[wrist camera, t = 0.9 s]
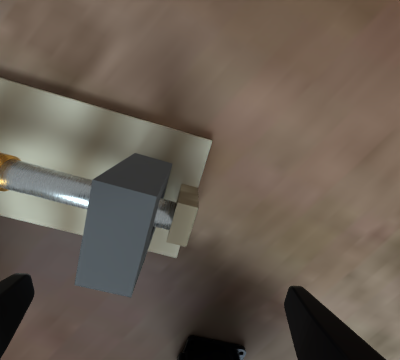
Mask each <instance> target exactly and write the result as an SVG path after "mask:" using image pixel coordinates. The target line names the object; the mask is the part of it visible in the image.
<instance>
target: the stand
mask: <svg viewBox="0 0 400 360" xmlns="http://www.w3.org/2000/svg"><path fill="white" fill-rule="evenodd" d="M211 144H212V140H210V139H206V138H203V137H200V136H196V135H193V134H190V133H186V132H183V131H180V130H176V129H173V128H169V127H166V126H163V125H159V124H156V123H153V122H149V121H146V120H143V119H139V118H136V117H133V116H129V115H126V114H122V113H119V112H116V111H112V110H109V109H106V108H102V107H99V106H96V105H92V104H89V103H85V102H82V101H79V100H75V99H72V98H69V97H65V96H62V95H59V94H55V93H52V92H48V91H45V90H42V89H38V88H35V87H32V86H28V85H25V84H22V83H18V82H15V81H11V80H8V79H5V78H1V77H0V152H1V153H5V154H8V155H12V156H16V157H18V158H19V159H20V160H21V161H23V162H27V163H30V164H34V165H38V166H42V167H45V168H49V169H53V170H57V171H60V172H64V173H68V174H72V175H75V176H79V177H83V178H87V179H91V180H93V179H94V178H96V177H97V176H99V175H101V174H102V173H104V172H105V171H107V170H109V169H110V168H112V167H113V166H115V165H116V164H118V163H120V162H121V161H123V160H124V159H126V158H128V157H129V156H131V155H132V154H134V153H137V154H141V155H144V156H148V157H151V158H155V159H158V160H162V161H165V162H169V163H173V164H172V168H171V172H170V176H169V179H168V183H167V187H166V191H165V194H164V198H163V199H166V200H170V201H173V202H177V205H176V209H175V213H174V217H173V220H172V224H171V227H170V230H166V229H162V228H158V227H156V228H155V231H154V234H153V237H152V240H151V243H150V245H149V248H148V251H150V252H154V253H158V254H162V255H166V256H171V257H175V258H177V254H178V251H179V248H180V246H184V247H186V246H187V243H188V240H189V236H190V233H191V230H192V227H193V224H194V221H195V217H196V214H197V211H198V186H199V183H200V179H201V176H202V173H203V170H204V166H205V163H206V160H207V157H208V153H209V150H210V147H211ZM86 214H87V209H83V208H79V207H75V206H71V205H67V204H63V203H59V202H55V201H51V200H47V199H43V198H39V197H35V196H31V195H27V194H23V193H19V192H15V191H11V190H8V191H0V215H1V216H5V217H9V218H13V219H17V220H21V221H26V222H30V223H34V224H38V225H42V226H46V227H50V228H55V229H59V230H63V231H67V232H71V233H75V234H79V235H83V232H84V226H85V220H86Z"/></svg>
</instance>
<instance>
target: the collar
mask: <svg viewBox="0 0 400 360" xmlns="http://www.w3.org/2000/svg"><path fill="white" fill-rule="evenodd" d="M172 164H173V163H169V162H165V161H162V160H158V159H155V158H151V157H148V156H144V155H141V154H137V153H134V154H132V155H131V156H129V157H128V158H126V159H124V160H123V161H121V162H120V163H118V164H116V165H115V166H113V167H112V168H110V169H109V170H107V171H105V172H104V173H102V174H101V175H99V176H97V177H96V178H94V179H93V180H92V185H91V191H90V197H89V203H88V209H87V214H86V220H85V226H84V232H83V238H82V244H81V250H80V256H79V262H78V268H77V274H76V280H75V285H77V286H81V287H86V288H90V289H95V290H100V291H104V292H109V293H113V294H118V295H122V296H127V297H131V296H132V293H133V290H134V288H135V285H136V282H137V279H138V276H139V274H140V271H141V268H142V265H143V262H144V260H145V257H146V254H147V251H148V248H149V245H150V243H151V240H152V237H153V234H154V231H155V228H156V227H154V226H153V224H154V220H155V217H156V213H157V209H158V205H159V201H160V199H161V198H162V199H163V198H164V194H165V191H166V187H167V183H168V179H169V176H170V172H171V168H172Z"/></svg>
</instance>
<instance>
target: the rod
mask: <svg viewBox="0 0 400 360" xmlns="http://www.w3.org/2000/svg"><path fill="white" fill-rule="evenodd" d="M91 185H92V180H91V179H87V178H83V177H79V176H75V175H72V174H68V173H64V172H60V171H57V170H53V169H49V168H45V167H42V166H38V165H34V164H30V163H27V162H23V161H21V160H20V159H19V158H18V157H16V156H12V155H8V154H5V153H1V152H0V191H8V190H11V191H15V192H19V193H23V194H27V195H31V196H35V197H39V198H43V199H47V200H51V201H55V202H59V203H63V204H67V205H71V206H75V207H79V208H83V209H88V203H89V197H90V191H91ZM176 205H177V202H173V201H170V200H166V199H162V198H161V199H160V201H159V205H158V209H157V213H156V217H155V220H154V224H153V226H154V227H158V228H162V229H166V230H170V227H171V224H172V220H173V217H174V213H175V209H176Z"/></svg>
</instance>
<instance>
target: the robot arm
mask: <svg viewBox="0 0 400 360" xmlns="http://www.w3.org/2000/svg"><path fill="white" fill-rule="evenodd" d="M33 297H34V287H33V283H32V279H31V276H30V275H29V274H24V273H16V274H13V275H11V276H9V277H8V278H6V279H4V280H2V281H0V358H1V357H2V355H3V353H4V352H5V350H6V348H7V347H8V345H9V343H10V341H11V340H12V338H13V336H14V334H15V332H16V330H17V328H18V326H19V324H20V323H21V321H22V319H23V317H24V315H25V313H26V311H27V309H28V307H29V306H30V304H31V302H32V300H33ZM284 308H285V312H286V316H287V320H288V324H289V328H290V332H291V336H292V340H293V344H294V348H295V351H296V355H297V358H298V360H386V359H385V358H384V357H382V356H381V355H380V354H379V353H378V352H377V351H376V350H374V349H373V348H372V347H371V346H370V345H369V344H367V343H366V342H365V341H364V340H363V339H362V338H361V337H359V336H358V335H357V334H356V333H355V332H354V331H353V330H351V329H350V328H349V327H348V326H347V325H346V324H345V323H343V322H342V321H341V320H340V319H339V318H338V317H337V316H335V315H334V314H333V313H332V312H331V311H330V310H329V309H327V308H326V307H325V306H324V305H323V304H322V303H320V302H319V301H318V300H317V299H316V298H315V297H314V296H312V295H311V294H310V293H309V292H308V291H307V290H306V289H304V288H303V287H301V286H290V287H289V289H288V292H287V295H286V298H285V302H284ZM245 354H246V351H245V348H244V347H243V346H239V345H234V344H229V343H225V342H220V341H215V340H210V339H205V338H201V337H196V336H190V337H188V339H187V342H186V344H185V347H184V350H183V353H182V352H181V353H180V354H179V356H178V359H177V360H243V359H244V357H245Z"/></svg>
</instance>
